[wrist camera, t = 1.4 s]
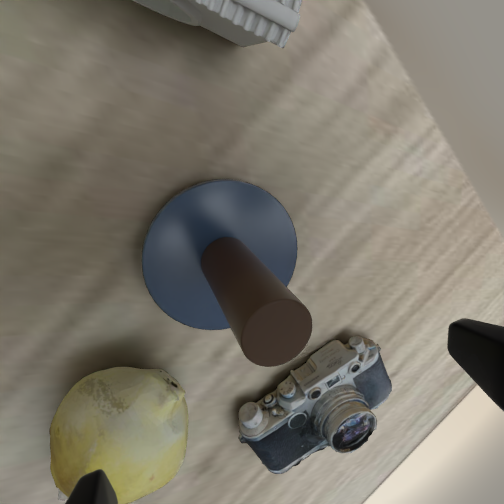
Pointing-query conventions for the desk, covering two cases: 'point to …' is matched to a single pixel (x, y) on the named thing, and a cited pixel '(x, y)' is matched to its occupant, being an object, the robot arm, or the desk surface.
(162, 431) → the fruit
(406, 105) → the desk surface
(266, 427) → the camera
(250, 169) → the desk surface
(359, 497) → the desk surface
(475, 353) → the robot arm
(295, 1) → the grey ridged-top pillar
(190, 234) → the lid
